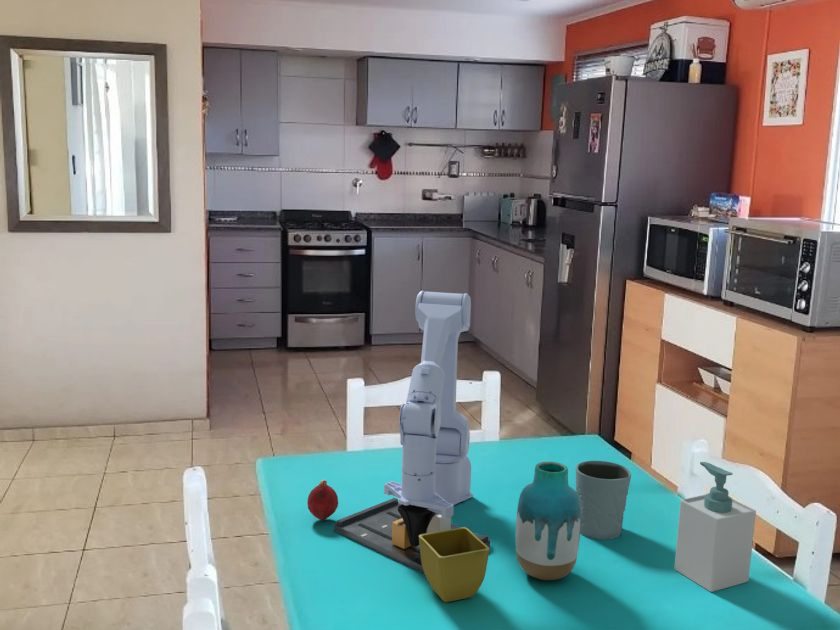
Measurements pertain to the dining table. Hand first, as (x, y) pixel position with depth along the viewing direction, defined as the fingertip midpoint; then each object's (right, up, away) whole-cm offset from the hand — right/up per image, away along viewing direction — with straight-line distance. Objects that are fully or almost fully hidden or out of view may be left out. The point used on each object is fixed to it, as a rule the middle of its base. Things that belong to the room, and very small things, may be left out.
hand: (416, 543), depth 151 cm
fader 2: (+4, 0, +7) cm, 8 cm away
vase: (+22, -4, -5) cm, 23 cm away
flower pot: (+6, -5, -11) cm, 14 cm away
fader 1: (-2, 0, +2) cm, 3 cm away
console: (-1, -1, +7) cm, 8 cm away
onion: (-18, +1, +14) cm, 23 cm away
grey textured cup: (+34, -1, +13) cm, 37 cm away
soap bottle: (+50, -5, -3) cm, 50 cm away
